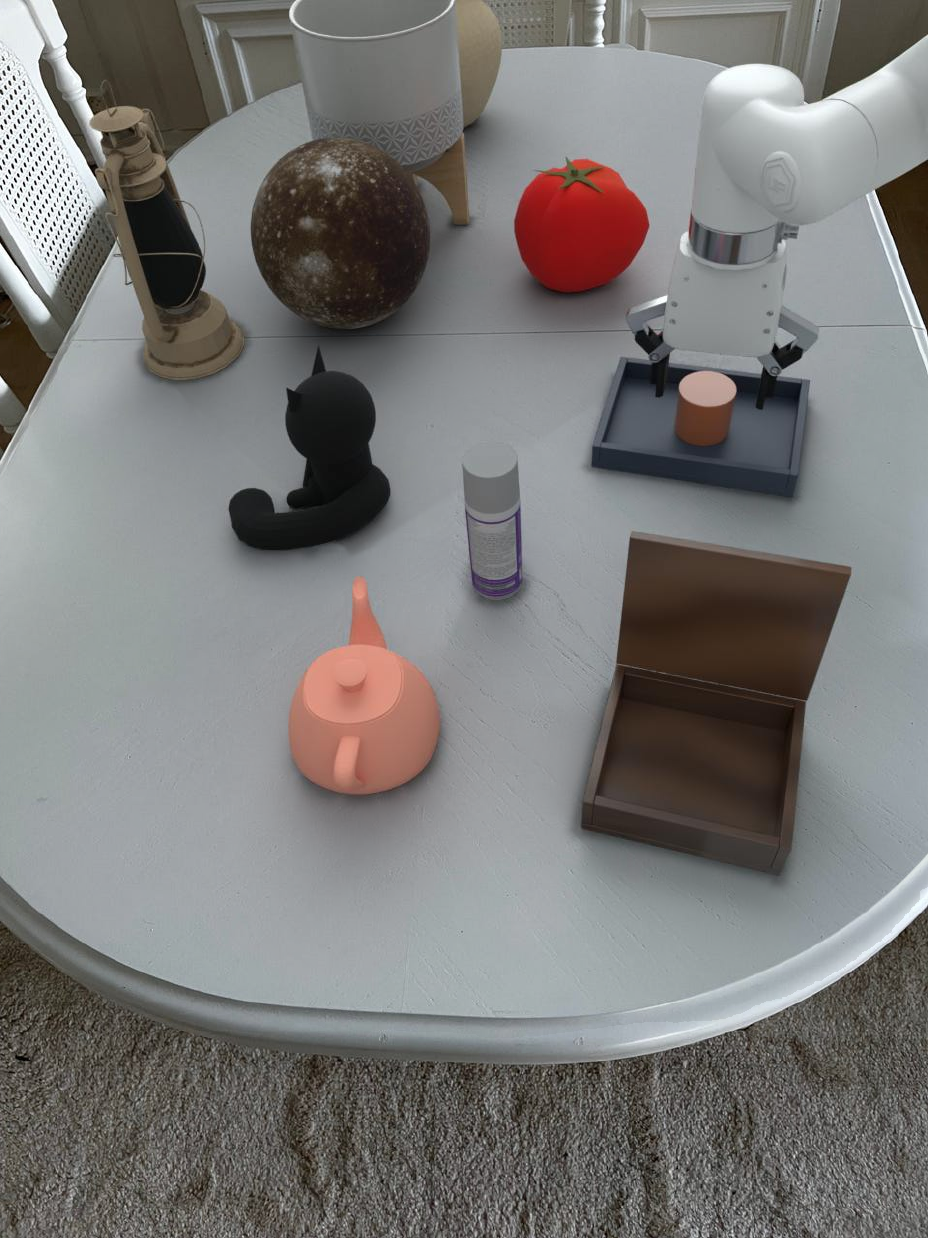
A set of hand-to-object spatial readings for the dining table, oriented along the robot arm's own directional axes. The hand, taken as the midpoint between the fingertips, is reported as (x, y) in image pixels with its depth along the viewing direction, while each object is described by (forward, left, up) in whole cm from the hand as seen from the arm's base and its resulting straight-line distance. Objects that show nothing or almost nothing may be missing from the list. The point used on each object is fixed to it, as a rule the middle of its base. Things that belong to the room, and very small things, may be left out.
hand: (710, 394), depth 95 cm
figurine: (+35, +19, -5) cm, 40 cm away
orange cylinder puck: (0, 0, -4) cm, 4 cm away
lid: (-5, +33, +6) cm, 34 cm away
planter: (+45, -34, -5) cm, 57 cm away
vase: (+47, -62, -5) cm, 78 cm away
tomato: (+19, -26, -5) cm, 32 cm away
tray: (0, 0, -5) cm, 5 cm away
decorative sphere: (+43, -13, -5) cm, 46 cm away
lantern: (+60, -3, -5) cm, 60 cm away
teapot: (+21, +42, -5) cm, 47 cm away
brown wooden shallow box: (-5, +40, -5) cm, 40 cm away
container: (+15, +24, -5) cm, 29 cm away
